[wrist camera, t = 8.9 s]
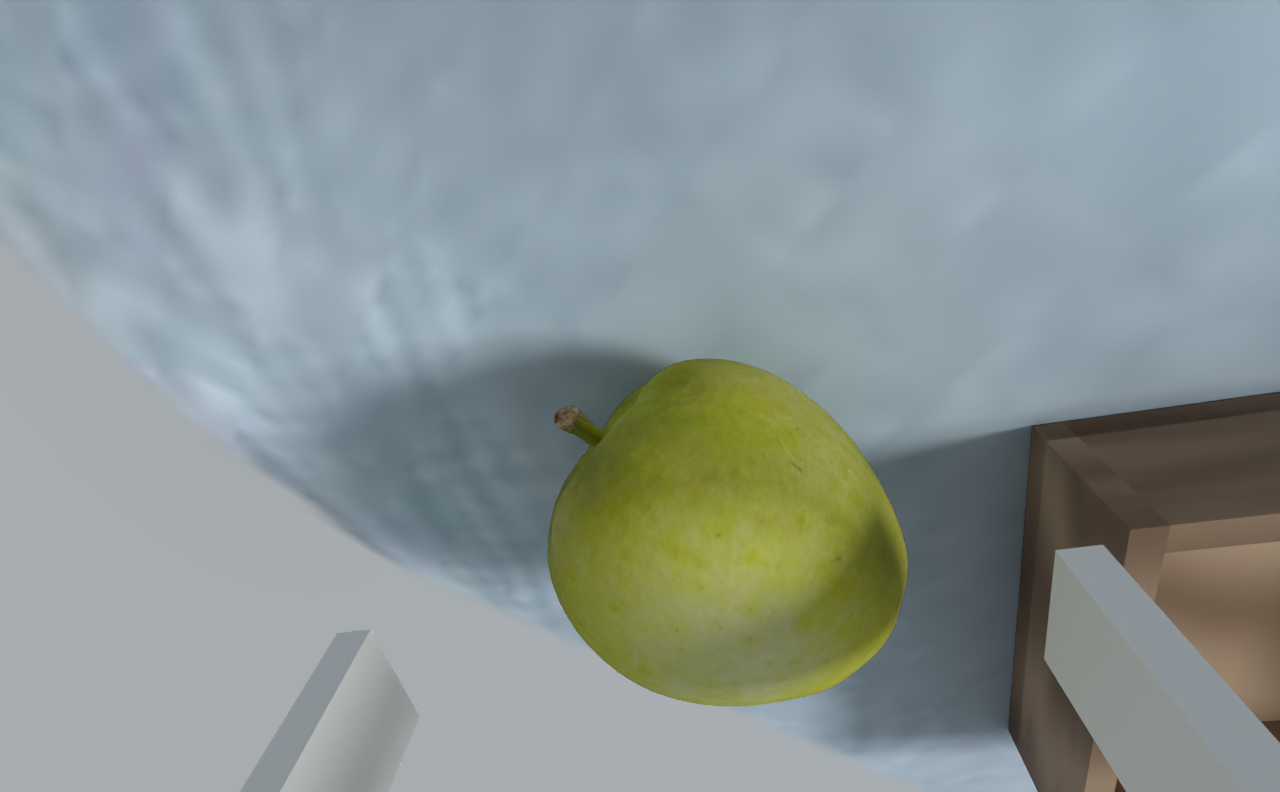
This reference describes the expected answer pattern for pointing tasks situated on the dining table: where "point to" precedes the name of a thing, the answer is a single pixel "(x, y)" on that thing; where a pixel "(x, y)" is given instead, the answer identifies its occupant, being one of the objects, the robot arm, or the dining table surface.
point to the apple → (725, 540)
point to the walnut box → (1154, 556)
